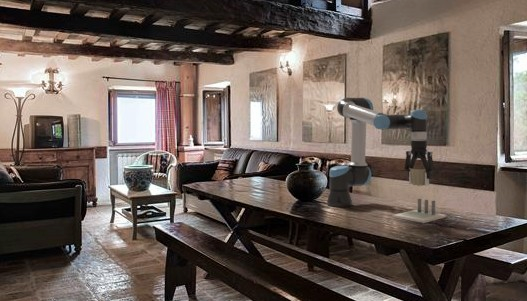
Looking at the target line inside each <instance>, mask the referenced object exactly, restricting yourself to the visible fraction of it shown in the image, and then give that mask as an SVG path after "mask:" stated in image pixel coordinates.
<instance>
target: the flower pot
mask: <svg viewBox="0 0 527 301" xmlns="http://www.w3.org/2000/svg"><path fill="white" fill-rule="evenodd" d="M409 169H410V172H411V175H412V182H413V184H412V185H413V186H418V187H419V186H422V187H423V186H425V173H426V169H425V167H413V168H409Z"/></svg>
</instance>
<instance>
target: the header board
mask: <svg viewBox="0 0 527 301" xmlns="http://www.w3.org/2000/svg"><path fill="white" fill-rule="evenodd" d="M446 217H447V215H446V214H442V213H437V212H436V200H431V211H430V212H429V199H424V211H423V210H422V198H417V209H413V210H409V211H404V212H399V213H396V214H392V218H394V219H395V218H396V219H401V220H406V221H412V222H418V223H423V224H425V223H429V222H433V221H437V220H441V219H444V218H445V219H446Z"/></svg>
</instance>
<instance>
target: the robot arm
mask: <svg viewBox="0 0 527 301" xmlns="http://www.w3.org/2000/svg"><path fill="white" fill-rule="evenodd" d="M336 106H337V108H336V109H337V112H338V114H339V115H340V116H341V117H343V118H347V119H349V122H351V145H350V146H351V147H350V148H351V150H350V162H349V163H348V165H337V166H333V167H330V169H329V175H328V176H329V193H328V196H327V197H328V198H327V200H326V205H327V206H329V207H334V208H335V207H337V208H342V207H343V208H346V207H351V206H353V200H352V198H351V193H350V187H362V186H366V185H368V184H369V182H371V179H372V171H371V169H370V167H369V166H368V163H367V162H366V148H367V147H366V143H367V142H366V141H367V124H368V125H371V126H373V127H375V129H376V130H408V129H409V130H410V138H411V142H410V147H411V150H408V151H405V164H404V170H405V171H407V177H408V178H409V179H408V180H409V181H408V183H409V184H410V185H413V182H412V175H411V172H410V169H409V168H415V167H414V166H415V164H416V162H417V160H418V159H420V160H421V163H422V165H423V168H425V169H426V173H425V185H424V186H429V185H430V179H431V177H432V175H431V173H432V172H434V171H435V167H434V166H435V165H434V160H433V151H428V148H427V147H428V146H427V145H428V144H427V143H428V142H427V139H428V138H427V135H428V134H427V124H428V122H427V121H428V116H427V111H426V110H425V109H415V110H414V109H413V110H411V111H410V114H386V113H382V112H379V111H376V110H374V104H373V102H372V101H371V99H369V98H366V97H344V98H343V99H341V100H339V102H338V103H337V105H336Z"/></svg>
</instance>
